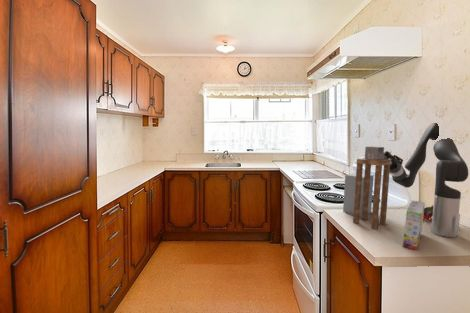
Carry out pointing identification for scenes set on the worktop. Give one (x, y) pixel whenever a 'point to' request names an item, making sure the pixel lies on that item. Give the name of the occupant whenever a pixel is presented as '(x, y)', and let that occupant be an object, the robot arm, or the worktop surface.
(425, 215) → the foo dog statuette
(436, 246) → the worktop surface
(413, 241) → the snack box
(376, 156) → the metal bar
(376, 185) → the walnut stand
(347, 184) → the slate pedestal
